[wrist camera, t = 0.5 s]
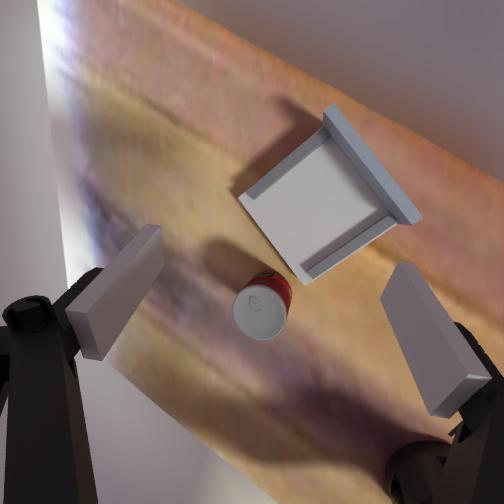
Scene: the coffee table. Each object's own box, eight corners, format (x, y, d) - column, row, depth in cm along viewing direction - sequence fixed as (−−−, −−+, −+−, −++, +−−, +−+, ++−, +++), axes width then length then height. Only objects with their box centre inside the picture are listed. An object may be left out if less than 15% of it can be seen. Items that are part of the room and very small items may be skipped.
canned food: (272, 261, 47) (259, 274, 36) (302, 296, 46) (298, 320, 36) (240, 287, 49) (220, 307, 38) (269, 321, 48) (256, 351, 38)
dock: (400, 217, 41) (423, 217, 33) (305, 282, 46) (303, 297, 37) (329, 126, 42) (333, 102, 33) (242, 199, 47) (226, 195, 38)
